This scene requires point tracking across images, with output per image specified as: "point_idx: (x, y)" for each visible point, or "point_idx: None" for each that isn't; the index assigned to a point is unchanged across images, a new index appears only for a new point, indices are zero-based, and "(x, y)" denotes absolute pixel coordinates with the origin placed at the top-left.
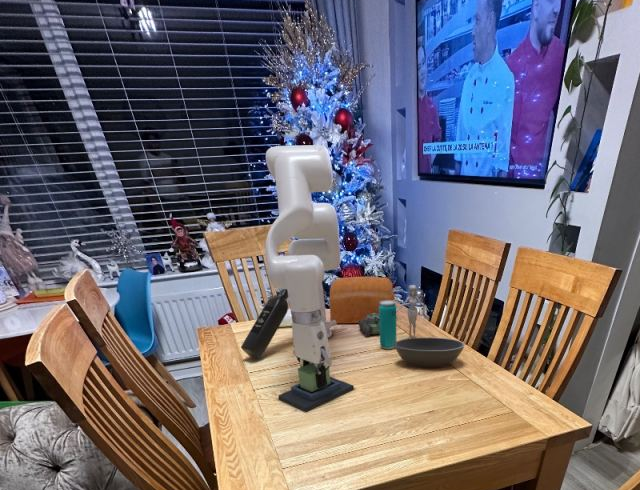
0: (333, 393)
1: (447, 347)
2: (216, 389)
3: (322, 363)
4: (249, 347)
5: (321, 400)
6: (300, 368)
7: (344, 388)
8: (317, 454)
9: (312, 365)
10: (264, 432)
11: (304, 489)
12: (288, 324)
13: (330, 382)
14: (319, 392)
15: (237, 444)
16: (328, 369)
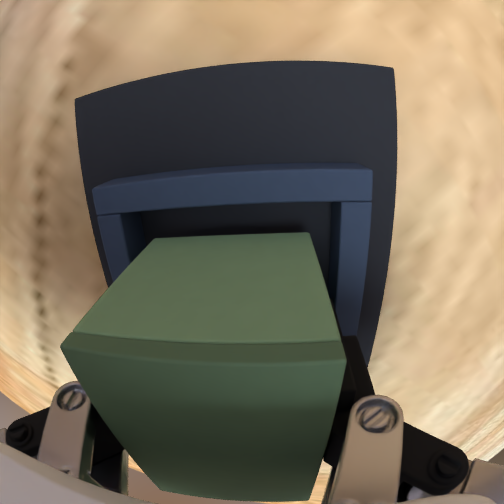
0: (375, 260)
1: None
2: (27, 409)
3: (363, 496)
4: None
5: (370, 353)
6: (174, 489)
7: (382, 149)
8: (481, 433)
9: (177, 449)
10: (326, 478)
11: (487, 455)
12: None
13: (310, 239)
14: None
15: (314, 499)
16: (332, 325)
